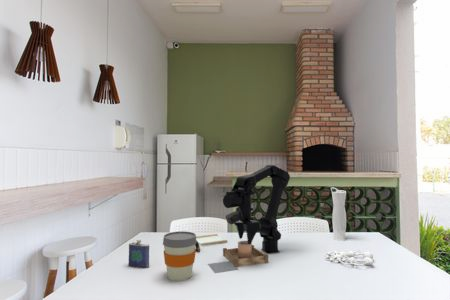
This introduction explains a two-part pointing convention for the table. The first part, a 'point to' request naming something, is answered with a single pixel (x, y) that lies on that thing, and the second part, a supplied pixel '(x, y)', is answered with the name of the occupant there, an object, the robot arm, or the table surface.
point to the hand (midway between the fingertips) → (245, 241)
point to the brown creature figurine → (197, 246)
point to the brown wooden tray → (255, 259)
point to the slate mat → (222, 267)
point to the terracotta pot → (244, 250)
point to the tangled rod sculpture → (342, 255)
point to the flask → (138, 255)
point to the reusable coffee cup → (179, 254)
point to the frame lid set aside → (210, 240)
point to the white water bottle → (339, 214)
